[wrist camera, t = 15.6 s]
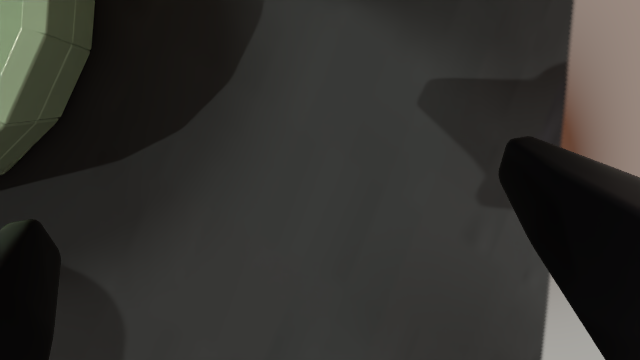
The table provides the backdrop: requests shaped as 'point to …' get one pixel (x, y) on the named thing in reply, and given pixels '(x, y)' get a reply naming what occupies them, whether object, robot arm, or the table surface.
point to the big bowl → (38, 67)
